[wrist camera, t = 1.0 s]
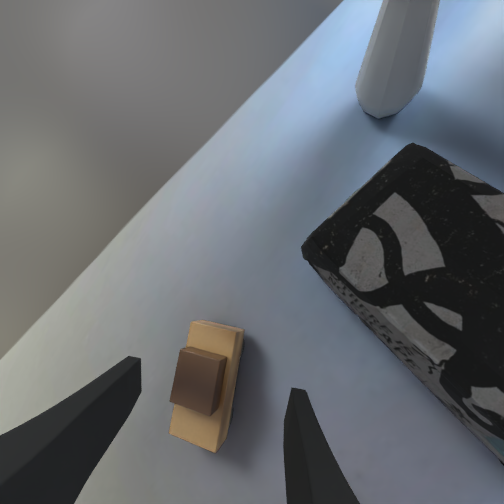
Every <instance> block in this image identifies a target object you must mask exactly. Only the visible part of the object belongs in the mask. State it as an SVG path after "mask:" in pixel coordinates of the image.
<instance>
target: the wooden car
mask: <svg viewBox="0 0 504 504" xmlns="http://www.w3.org/2000/svg"><path fill="white" fill-rule="evenodd" d="M244 331H245V330H244V329H240V328H236V327H232V326H227V325H223V324H219V323H214V322H210V321H206V320H199V321H192V322H191V324H190V329H189V334H188V339H187V344H186V348H183V349H180V353H179V358H178V363H177V367H176V372H175V377H174V382H173V387H172V392H171V397H170V402H172V403H175V404H174V409H173V414H172V419H171V424H170V429H169V434H171V435H173V436H176V437H178V438H180V439H183V440H185V441H188V442H190V443H192V444H195V445H197V446H199V447H202V448H204V449H206V450H209V451H211V452H213V453H216V452H217V451H218V450H219V448H220V447H221V446H222V444H223V443H224V441H225V440H226V439H227V433H228V428H229V426H230V423H231V420H232V416H233V407H232V403H233V397H234V391H235V385H236V379H237V373H238V367H239V361H240V357H241V355H242V352H243V349H244V338H243V337H244Z"/></svg>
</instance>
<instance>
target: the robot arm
mask: <svg viewBox="0 0 504 504" xmlns="http://www.w3.org/2000/svg"><path fill="white" fill-rule="evenodd" d="M140 393H141V358H136V357H131V356H128V357H127V358H125V359H124V360H122V361H121V362H119V363H118V364H116V365H115V366H113V367H112V368H111V369H109V370H108V371H106V372H105V373H104V374H102V375H101V376H99V377H98V378H96V379H95V380H93V381H92V382H90V383H89V384H87V385H86V386H85V387H83V388H82V389H80V390H79V391H77V392H76V393H74V394H72V395H71V396H69V397H68V398H66V399H64V400H63V401H61V402H60V403H58V404H57V405H55V406H53V407H52V408H50V409H48V410H47V411H45V412H43V413H41V414H40V415H38V416H36V417H34V418H33V419H31V420H29V421H27V422H25V423H24V424H22V425H20V426H18V427H16V428H14V429H12V430H10V431H8V432H6V433H4V434H2V435H0V504H74V503H75V501H76V499H77V497H78V495H79V494H80V492H81V490H82V488H83V486H84V485H85V483H86V481H87V480H88V478H89V476H90V475H91V473H92V471H93V470H94V468H95V467H96V465H97V464H98V462H99V461H100V459H101V458H102V456H103V455H104V453H105V452H106V450H107V449H108V447H109V445H110V444H111V442H112V441H113V439H114V438H115V436H116V435H117V433H118V432H119V430H120V429H121V427H122V426H123V424H124V422H125V421H126V419H127V418H128V416H129V415H130V413H131V411H132V409H133V407H134V405H135V403H136V401H137V399H138V397H139V395H140ZM283 448H284V465H285V481H286V496H287V504H360V503H359V501H358V500H357V498H356V496H355V494H354V493H353V491H352V489H351V488H350V486H349V484H348V482H347V480H346V479H345V477H344V475H343V473H342V471H341V469H340V467H339V465H338V463H337V461H336V459H335V457H334V455H333V453H332V451H331V449H330V447H329V445H328V443H327V441H326V439H325V436H324V434H323V432H322V430H321V427H320V425H319V423H318V420H317V418H316V416H315V413H314V411H313V408H312V405H311V403H310V400H309V397H308V394H307V392H306V391H305V390H302V389H297V388H292V389H291V393H290V397H289V402H288V406H287V410H286V415H285V419H284V445H283Z"/></svg>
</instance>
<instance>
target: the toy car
mask: <svg viewBox="0 0 504 504" xmlns="http://www.w3.org/2000/svg"><path fill="white" fill-rule="evenodd" d="M301 249H302V254H303V258H304V259H305V260H307V261H308V262H309V264H310V265H311V266H312V268H313V269H314V270H315V271H316V272H317V273H318V274H319V276H321V278H322V279H323V280H324V282H325V283H326V284H327V285H328V286H329V287H330V288H331V289H332V290H333V292H334V293H335V294H336V295H337V296H338V297H339V298H340V299H341V300H342V301H343V302H344V303H345V304H346V305H347V306H348V307H349V308H350V309H351V310H352V311H353V312H354V313H355V314H357V315H358V316H359V318H360V319H361V321H362V322H363V323H364V324H365V325H366V326H367V327H368V328H369V329H370V330H371V331H372V332H373V333H374V334H375V335H376V336H377V337H378V338H379V339H380V340H381V341H382V342H383V343H384V344H385V345H386V346H387V347H388V348H389V349H390V350H391V351H392V352H393V353H394V354H395V355H396V356H397V357H398V358H399V359H400V360H401V361H402V363H403V364H404V365H405V366H406V367H407V368H408V369H409V370H410V371H411V372H412V373H413V374H414V375H415V376H416V377H417V378H418V379H419V380H420V381H421V382H422V383H423V384H424V385H425V386H426V387H427V388H428V389H429V390H430V391H431V392H432V393H433V394H434V395H435V396H436V397H437V398H438V399H439V400H440V401H441V402H442V403H443V404H444V405H445V407H447V408H448V409H449V410H450V411H451V412H452V413H453V414H454V415H455V416H456V417H457V418H458V419H459V420H460V421H461V422H462V423H463V424H464V425H465V426H466V427H467V428H468V429H469V430H470V431H471V432H472V433H473V434H474V435H475V436H476V437H477V438H478V439H479V440H480V441H481V442H482V443H483V444H484V445H485V446H486V447H487V448H488V449H489V450H490V451H491V452H492V453H494V454H495V455H496V456H497V457H498V459H499V460H500V462H501V463H502V464H503V466H504V193H502V192H501V191H499V190H497V189H496V188H494V187H492V186H491V185H489V184H487V183H485V182H484V181H482V180H480V179H479V178H477V177H475V176H474V175H472V174H470V173H468V172H467V171H465V170H463V169H462V168H460V167H458V166H457V165H455V164H453V163H451V162H450V161H448V160H446V159H445V158H443V157H441V156H440V155H438V154H436V153H434V152H433V151H431V150H429V149H428V148H426V147H423V146H420V145H417V144H415V143H411V144H408V145H406V146H405V147H404V148H403V149H402V150H401V151H400V152H398V153H397V154H396V155H395V156H394V157H393V158H392V159H391V160H390V161H388V162H387V163H386V164H385V165H384V166H383V167H382V168H381V169H380V170H379V171H378V172H377V173H376V174H375V175H374V176H373V177H372V178H371V179H370V180H368V181H367V182H366V183H365V184H364V185H363V186H362V187H361V188H359V189H358V190H357V191H355V192H354V193H353V194H352V195H351V196H350V197H349V198H348V199H347V200H346V201H345V203H344V204H342V205H341V206H340V207H339V208H338V209H337V210H336V211H335V212H334V213H332V214H331V215H330V216H329V217H328V218H327V219H326V220H325V221H324V222H323V223H322V224H321V225H320V226H319V227H318V228H317V229H316V230H314V231H313V232H312V233H311V235H310V236H309V237H307V240H306V241H305V242H304V243H303V245H302V246H301Z"/></svg>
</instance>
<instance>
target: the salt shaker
mask: <svg viewBox="0 0 504 504" xmlns="http://www.w3.org/2000/svg"><path fill="white" fill-rule="evenodd" d="M439 3H440V0H383V2H382V5H381V8H380V11H379V14H378V17H377V20H376V23H375V26H374V29H373V32H372V35H371V38H370V41H369V44H368V47H367V50H366V53H365V56H364V59H363V62H362V65H361V68H360V71H359V74H358V77H357V81H356V84H355V90H356V94H357V98H358V101H359V103H360V105H361V107H362V109H363V111H364V112H366V113H368V114H370V115H372V116H374V117H376V118H378V119H379V118H383V117H386V116H390V115H393V114H396V113H398V112H399V111H401V110H402V109H403V108H404V107H405V106H406V105H407V104H408V103H409V102H410V101H411V100H412V99H413V98H414V97H415V95H416V94H417V93H418V92H419V91H420V89H421V87H422V84H423V80H424V77H425V72H426V68H427V63H428V58H429V53H430V48H431V43H432V38H433V33H434V28H435V23H436V18H437V13H438V8H439Z"/></svg>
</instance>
